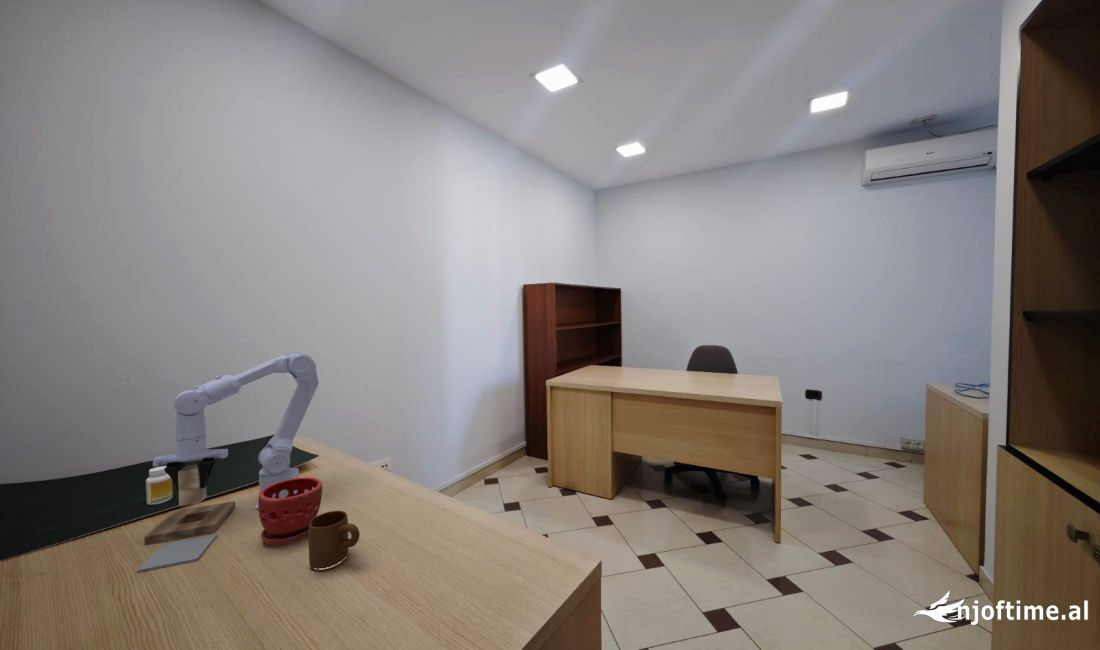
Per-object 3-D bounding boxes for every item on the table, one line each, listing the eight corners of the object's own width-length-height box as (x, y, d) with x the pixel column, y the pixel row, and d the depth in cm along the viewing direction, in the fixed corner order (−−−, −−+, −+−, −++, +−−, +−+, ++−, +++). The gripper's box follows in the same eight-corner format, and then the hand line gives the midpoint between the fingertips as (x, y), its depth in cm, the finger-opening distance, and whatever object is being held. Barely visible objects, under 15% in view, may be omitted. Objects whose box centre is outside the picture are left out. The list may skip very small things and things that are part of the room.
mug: (372, 556, 84) (371, 515, 84) (344, 579, 77) (343, 534, 77) (330, 547, 88) (329, 507, 88) (300, 568, 81) (299, 525, 81)
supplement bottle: (177, 496, 114) (176, 465, 114) (157, 505, 109) (156, 472, 108) (162, 496, 114) (161, 464, 114) (141, 504, 109) (140, 471, 109)
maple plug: (206, 496, 101) (205, 463, 100) (199, 503, 97) (198, 468, 97) (187, 499, 99) (186, 465, 99) (179, 506, 95) (177, 471, 95)
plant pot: (285, 554, 86) (284, 502, 85) (245, 543, 90) (244, 494, 89) (334, 524, 98) (333, 479, 98) (298, 516, 102) (297, 472, 102)
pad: (217, 536, 93) (217, 534, 93) (197, 560, 84) (197, 558, 84) (164, 546, 89) (164, 544, 89) (137, 572, 80) (137, 570, 80)
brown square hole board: (235, 508, 107) (235, 501, 107) (214, 532, 95) (214, 524, 95) (174, 517, 102) (174, 510, 102) (144, 545, 90) (144, 536, 90)
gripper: (232, 429, 104) (233, 477, 104) (163, 436, 99) (165, 487, 99) (221, 436, 98) (222, 488, 98) (146, 444, 92) (148, 499, 92)
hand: (192, 488), depth 98 cm, fingers closed on maple plug, 4 cm apart
